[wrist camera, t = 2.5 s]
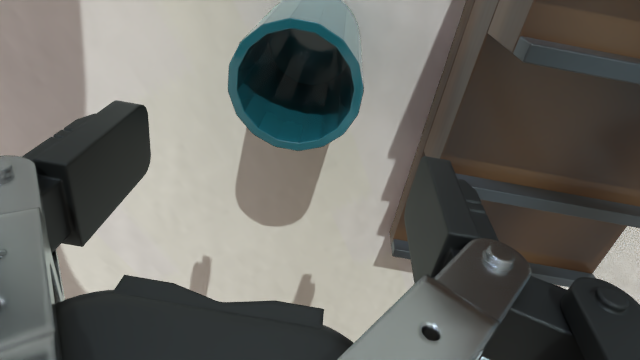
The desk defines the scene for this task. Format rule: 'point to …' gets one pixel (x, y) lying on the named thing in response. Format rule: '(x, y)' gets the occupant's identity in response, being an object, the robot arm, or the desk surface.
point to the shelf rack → (542, 127)
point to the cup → (299, 74)
